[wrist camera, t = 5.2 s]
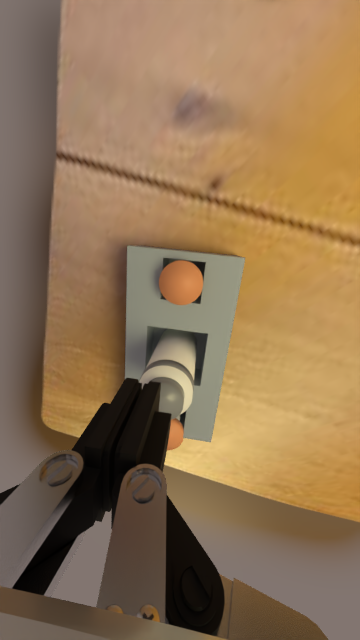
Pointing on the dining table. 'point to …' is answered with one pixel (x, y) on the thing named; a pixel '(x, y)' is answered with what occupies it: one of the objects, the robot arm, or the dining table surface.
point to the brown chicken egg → (181, 282)
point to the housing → (183, 323)
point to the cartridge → (173, 370)
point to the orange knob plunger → (175, 433)
